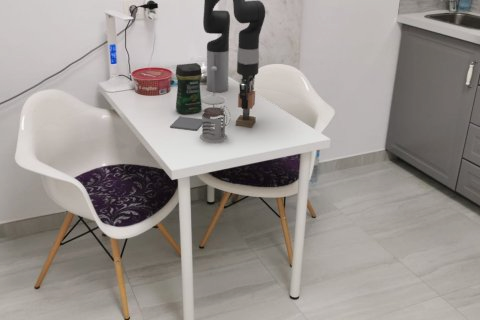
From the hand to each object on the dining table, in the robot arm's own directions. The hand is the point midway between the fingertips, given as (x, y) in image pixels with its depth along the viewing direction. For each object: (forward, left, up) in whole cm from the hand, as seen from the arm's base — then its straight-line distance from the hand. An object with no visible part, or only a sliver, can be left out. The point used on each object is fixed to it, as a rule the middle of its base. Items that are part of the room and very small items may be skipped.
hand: (246, 106), depth 193 cm
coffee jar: (-6, -24, -7) cm, 26 cm away
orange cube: (0, 0, 0) cm, 0 cm away
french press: (+16, -7, -7) cm, 19 cm away
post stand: (0, 0, -7) cm, 7 cm away
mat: (+7, -20, -7) cm, 22 cm away
